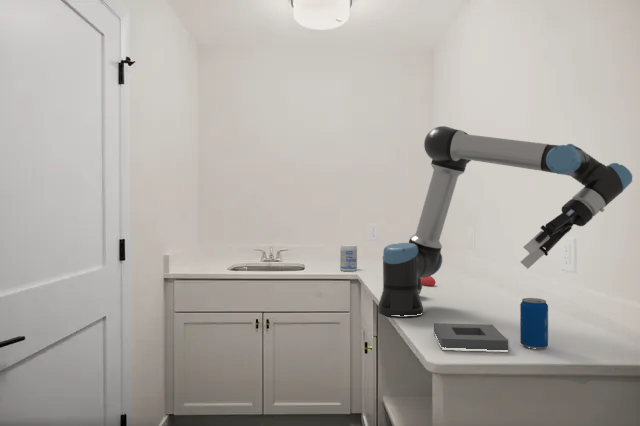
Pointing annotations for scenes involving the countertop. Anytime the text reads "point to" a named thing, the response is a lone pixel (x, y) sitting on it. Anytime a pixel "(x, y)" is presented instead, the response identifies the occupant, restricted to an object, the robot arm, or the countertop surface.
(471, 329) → the socket plate
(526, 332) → the beverage can
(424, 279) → the stress ball
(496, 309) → the countertop surface
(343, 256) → the supplement tub
